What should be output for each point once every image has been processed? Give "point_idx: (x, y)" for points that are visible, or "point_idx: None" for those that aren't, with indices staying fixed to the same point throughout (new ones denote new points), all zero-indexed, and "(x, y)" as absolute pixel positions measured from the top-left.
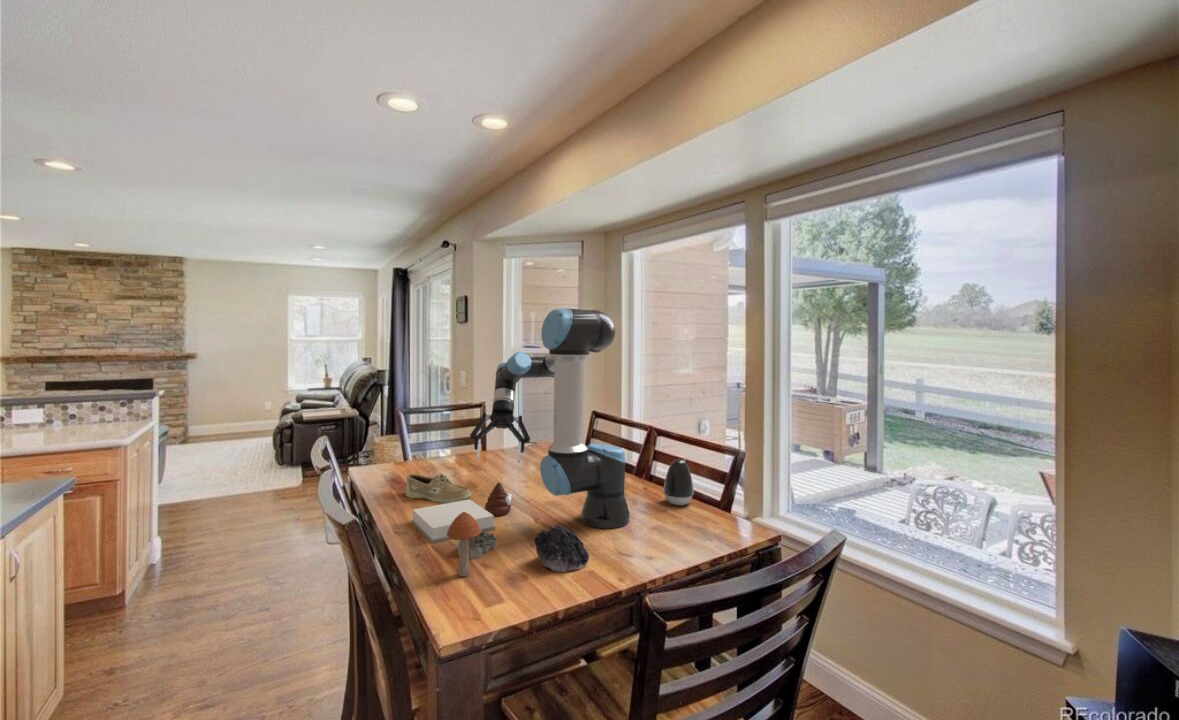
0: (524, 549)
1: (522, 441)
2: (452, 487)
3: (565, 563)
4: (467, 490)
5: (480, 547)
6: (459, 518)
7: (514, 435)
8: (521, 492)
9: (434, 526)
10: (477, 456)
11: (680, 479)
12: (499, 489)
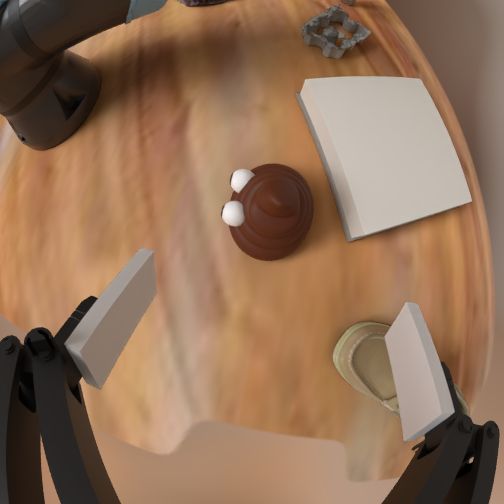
0: (253, 17)
1: (54, 341)
2: (390, 371)
3: None
4: (354, 345)
5: (330, 19)
6: None
7: (106, 471)
8: (165, 372)
9: (420, 85)
10: (413, 307)
11: None
12: (278, 177)
